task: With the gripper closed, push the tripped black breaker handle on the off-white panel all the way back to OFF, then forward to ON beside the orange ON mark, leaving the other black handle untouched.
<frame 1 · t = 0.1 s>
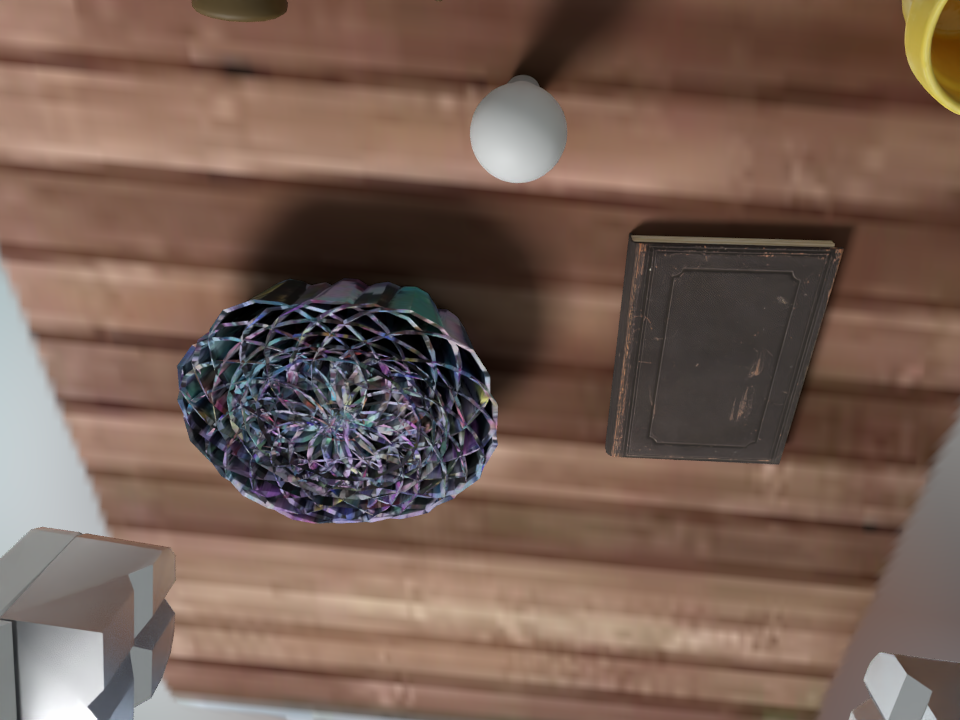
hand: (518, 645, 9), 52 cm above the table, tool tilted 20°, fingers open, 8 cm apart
hardcover book: (707, 346, 71), on the table
lightbulb: (523, 87, 58), on the table
decorative bowl: (356, 359, 75), on the table
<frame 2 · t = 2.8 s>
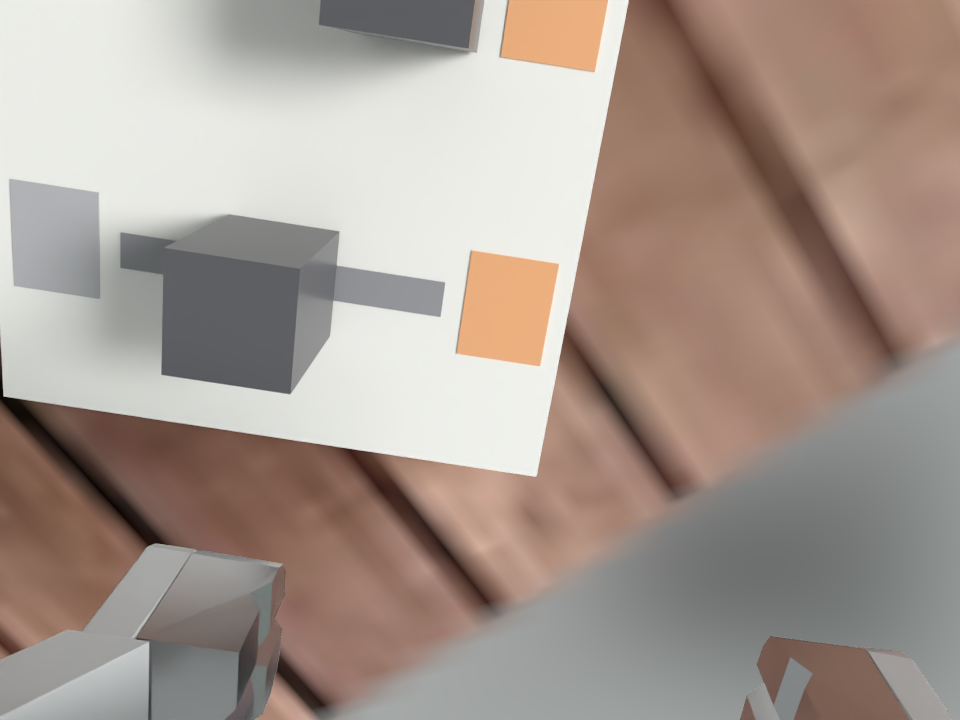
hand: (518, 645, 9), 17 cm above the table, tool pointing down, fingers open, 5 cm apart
tripped breaker handle: (257, 297, 20), point 5 cm above the table, slide at 3.0 cm
breaker panel: (318, 120, 24), on the table
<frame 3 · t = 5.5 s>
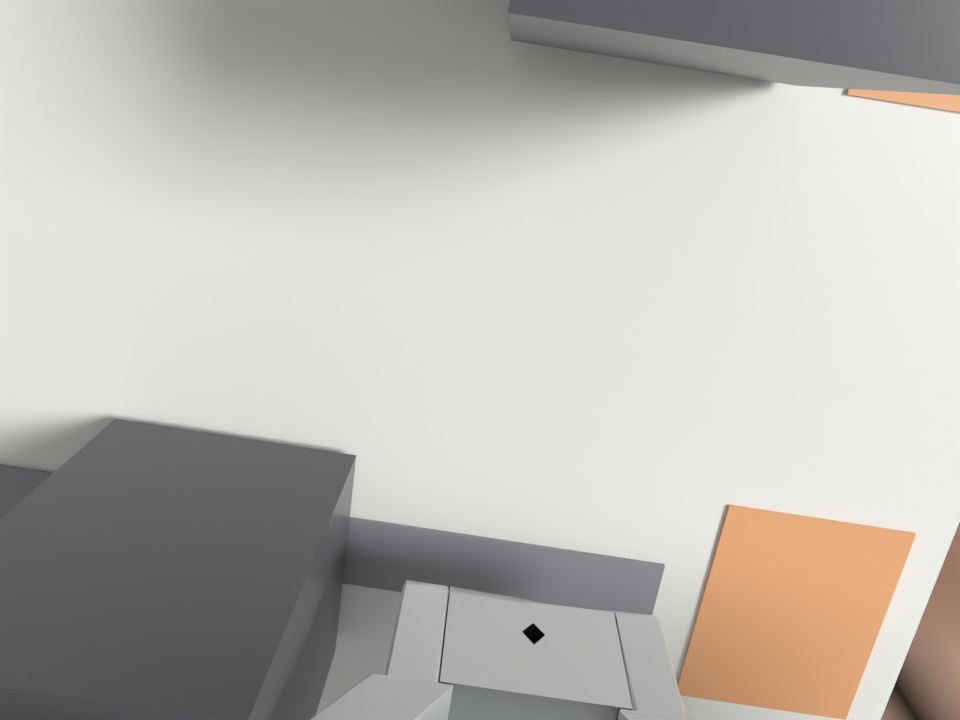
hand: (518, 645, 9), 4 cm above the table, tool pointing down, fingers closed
tripped breaker handle: (161, 655, 9), point 5 cm above the table, slide at 1.9 cm, touching gripper
breaker panel: (386, 208, 12), on the table
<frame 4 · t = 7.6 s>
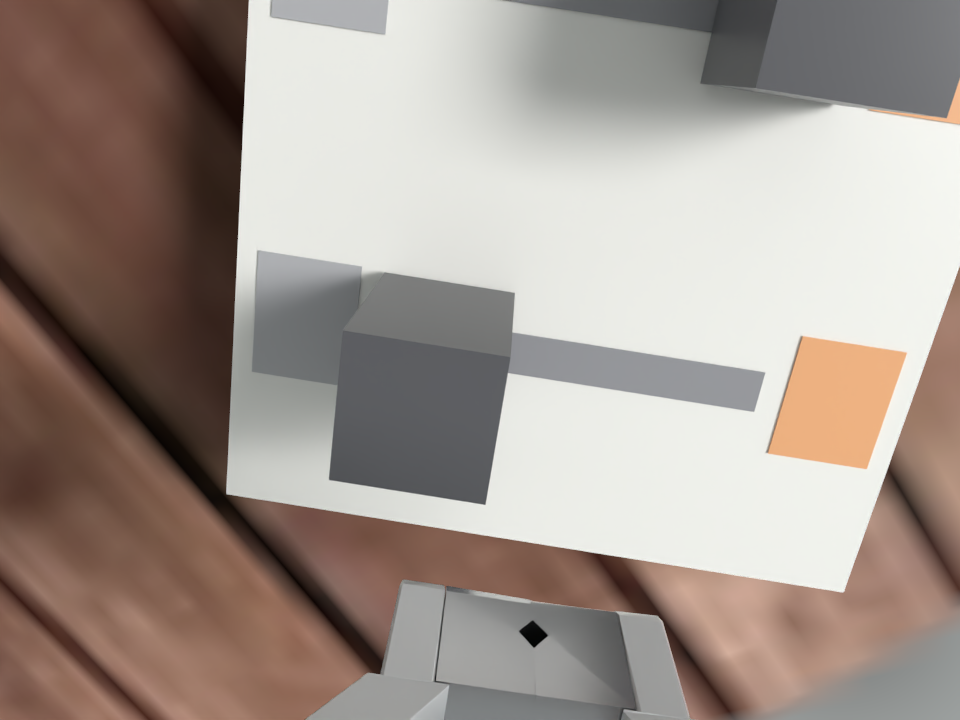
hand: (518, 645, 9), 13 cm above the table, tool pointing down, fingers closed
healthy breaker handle: (830, 9, 14), point 5 cm above the table, slide at 6.0 cm
tripped breaker handle: (430, 377, 17), point 5 cm above the table, slide at -0.1 cm
breaker panel: (593, 175, 21), on the table
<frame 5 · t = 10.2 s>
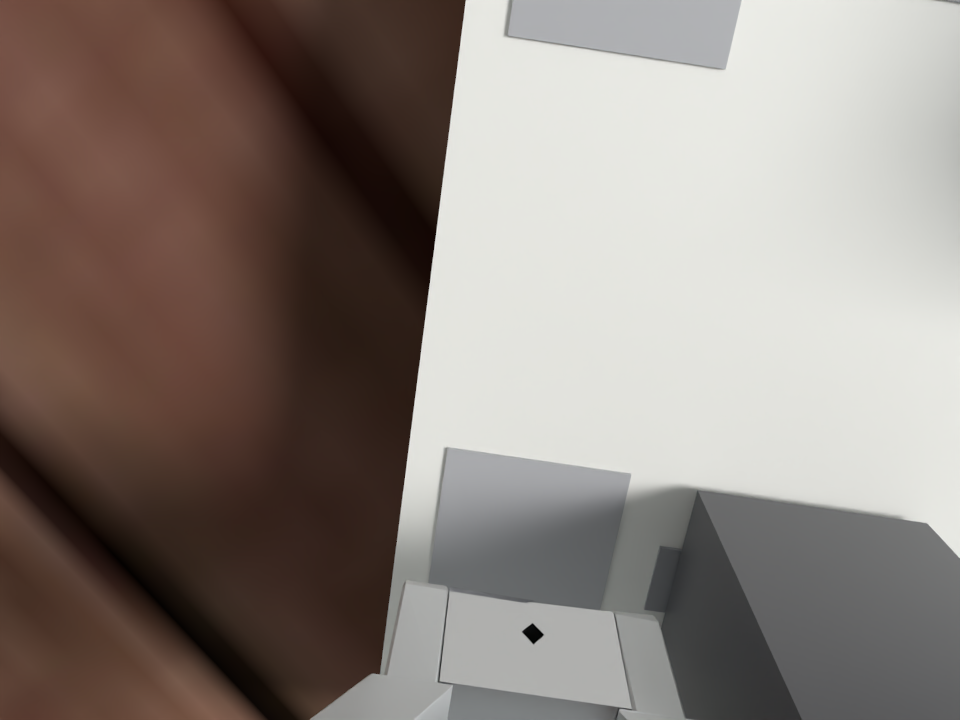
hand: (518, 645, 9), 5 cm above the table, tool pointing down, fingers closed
breaker panel: (959, 288, 13), on the table
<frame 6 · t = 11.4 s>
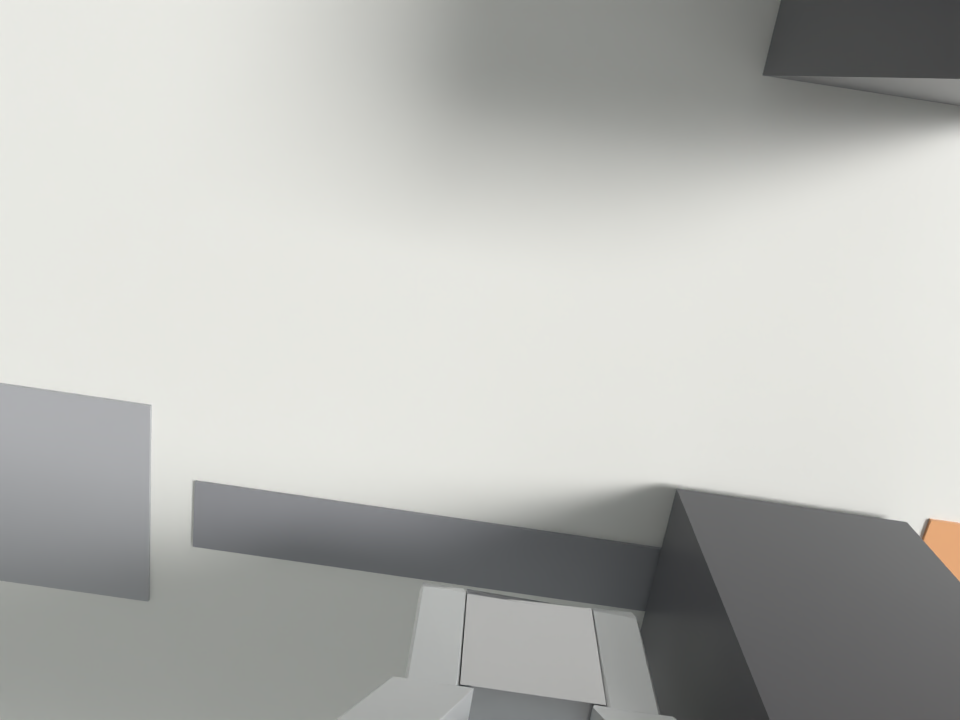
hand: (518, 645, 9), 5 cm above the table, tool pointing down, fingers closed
breaker panel: (563, 229, 13), on the table
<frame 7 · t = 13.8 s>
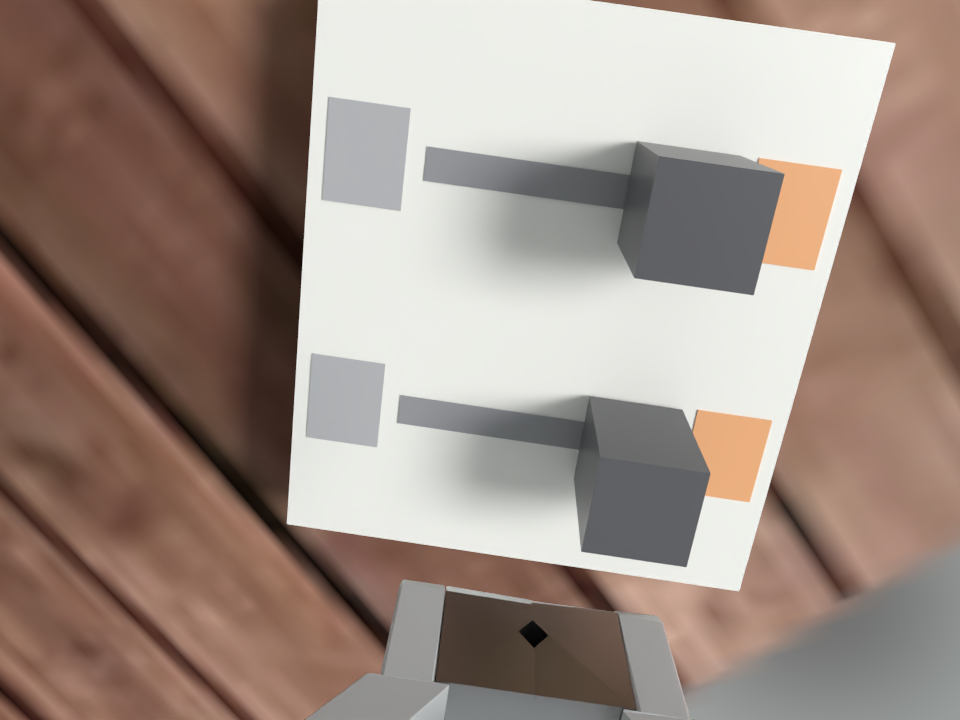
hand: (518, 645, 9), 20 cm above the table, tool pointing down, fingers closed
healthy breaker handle: (691, 212, 22), point 5 cm above the table, slide at 6.0 cm
tripped breaker handle: (634, 476, 25), point 5 cm above the table, slide at 6.1 cm
breaker panel: (551, 289, 28), on the table
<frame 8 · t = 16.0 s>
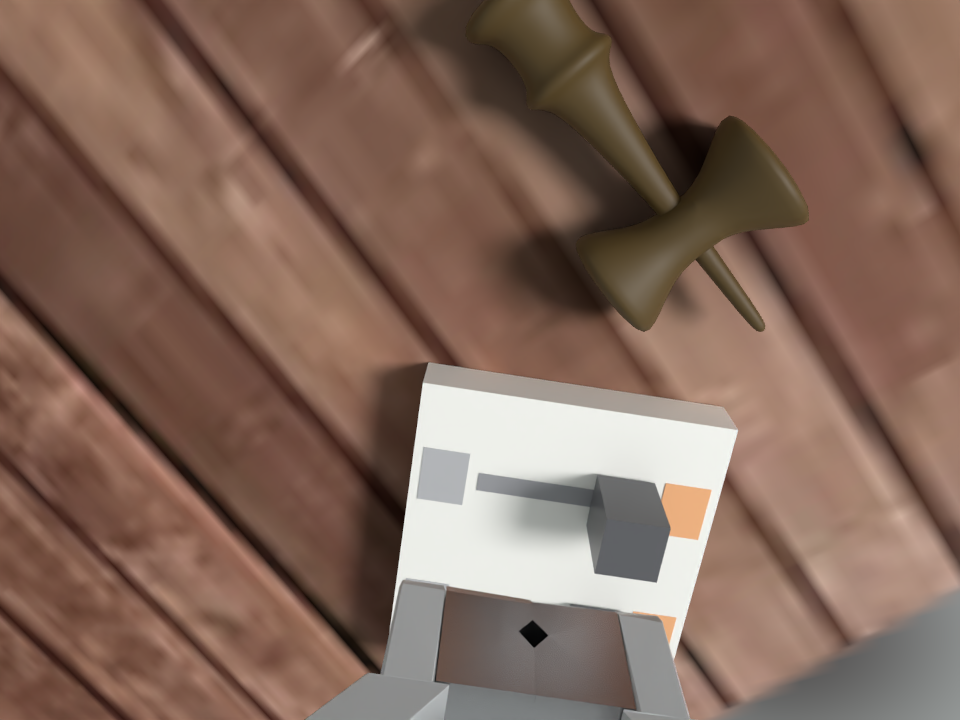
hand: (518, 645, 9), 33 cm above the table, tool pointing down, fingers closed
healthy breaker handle: (625, 526, 40), point 5 cm above the table, slide at 6.0 cm
tripped breaker handle: (595, 657, 43), point 5 cm above the table, slide at 6.1 cm
breaker panel: (547, 529, 47), on the table
kendama: (630, 160, 40), on the table
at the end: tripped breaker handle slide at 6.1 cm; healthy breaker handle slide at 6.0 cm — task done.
